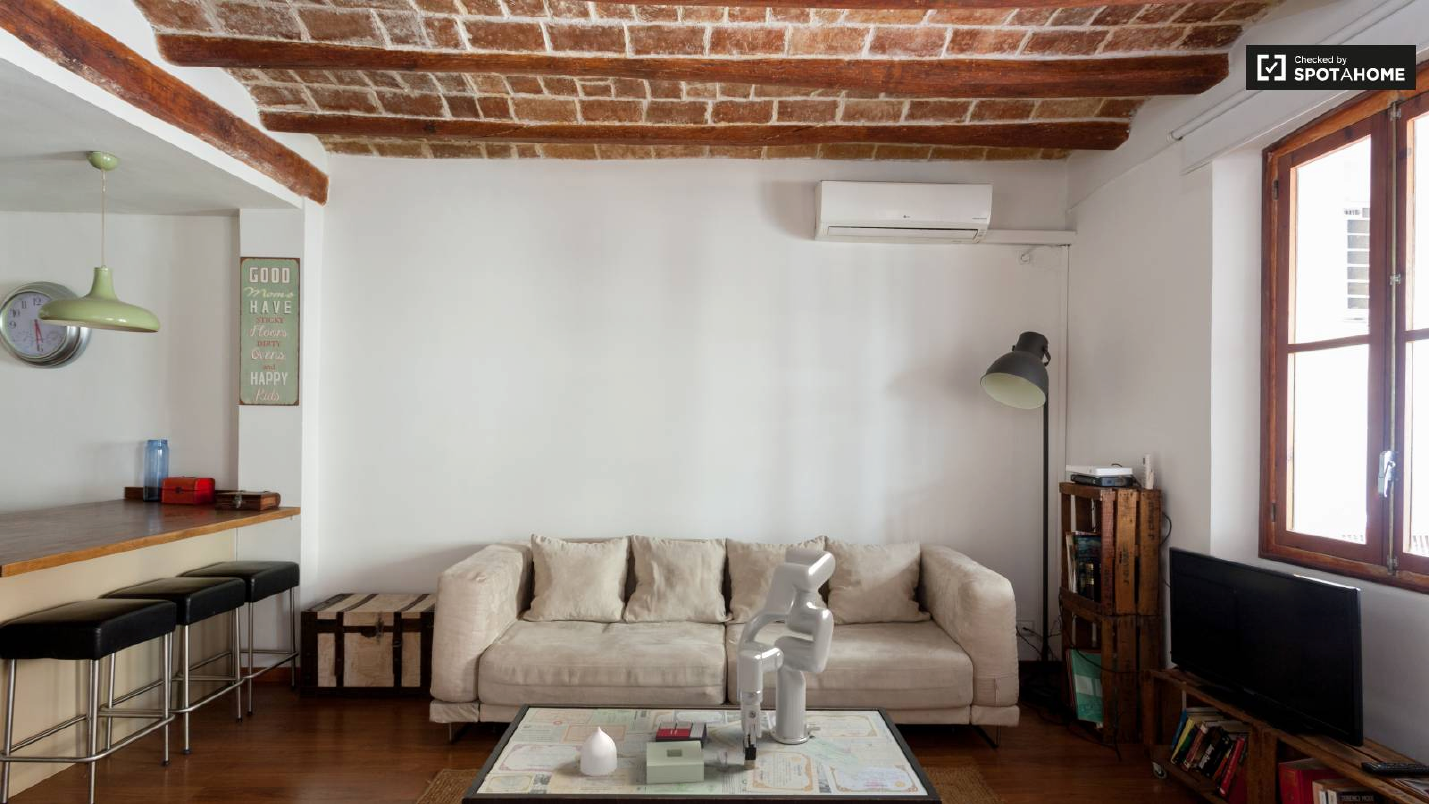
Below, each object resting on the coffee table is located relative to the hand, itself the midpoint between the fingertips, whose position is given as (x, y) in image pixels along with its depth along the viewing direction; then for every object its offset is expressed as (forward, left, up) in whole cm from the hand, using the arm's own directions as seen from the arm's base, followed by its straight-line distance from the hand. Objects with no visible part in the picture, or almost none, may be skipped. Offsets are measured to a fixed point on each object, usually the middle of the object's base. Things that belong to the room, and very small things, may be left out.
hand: (749, 756), depth 214 cm
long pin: (0, 0, -3) cm, 3 cm away
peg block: (+22, 0, -3) cm, 22 cm away
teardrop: (+44, -4, -4) cm, 44 cm away
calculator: (+19, -19, -4) cm, 27 cm away
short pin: (+8, 0, -3) cm, 9 cm away
